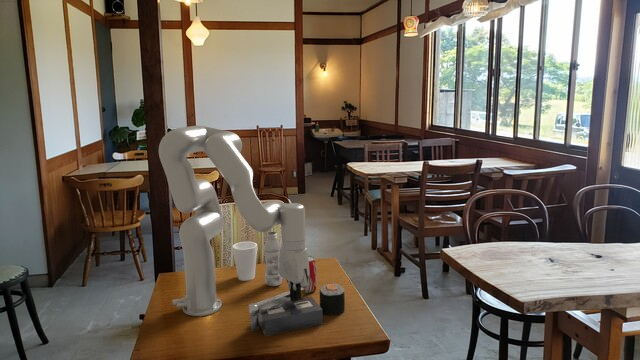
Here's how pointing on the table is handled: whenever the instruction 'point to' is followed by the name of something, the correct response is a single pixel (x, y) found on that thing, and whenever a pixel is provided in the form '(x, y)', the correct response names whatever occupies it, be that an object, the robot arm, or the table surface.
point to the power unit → (288, 317)
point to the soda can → (311, 275)
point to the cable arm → (271, 302)
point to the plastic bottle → (272, 260)
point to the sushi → (332, 299)
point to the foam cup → (245, 259)
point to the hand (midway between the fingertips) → (295, 299)
